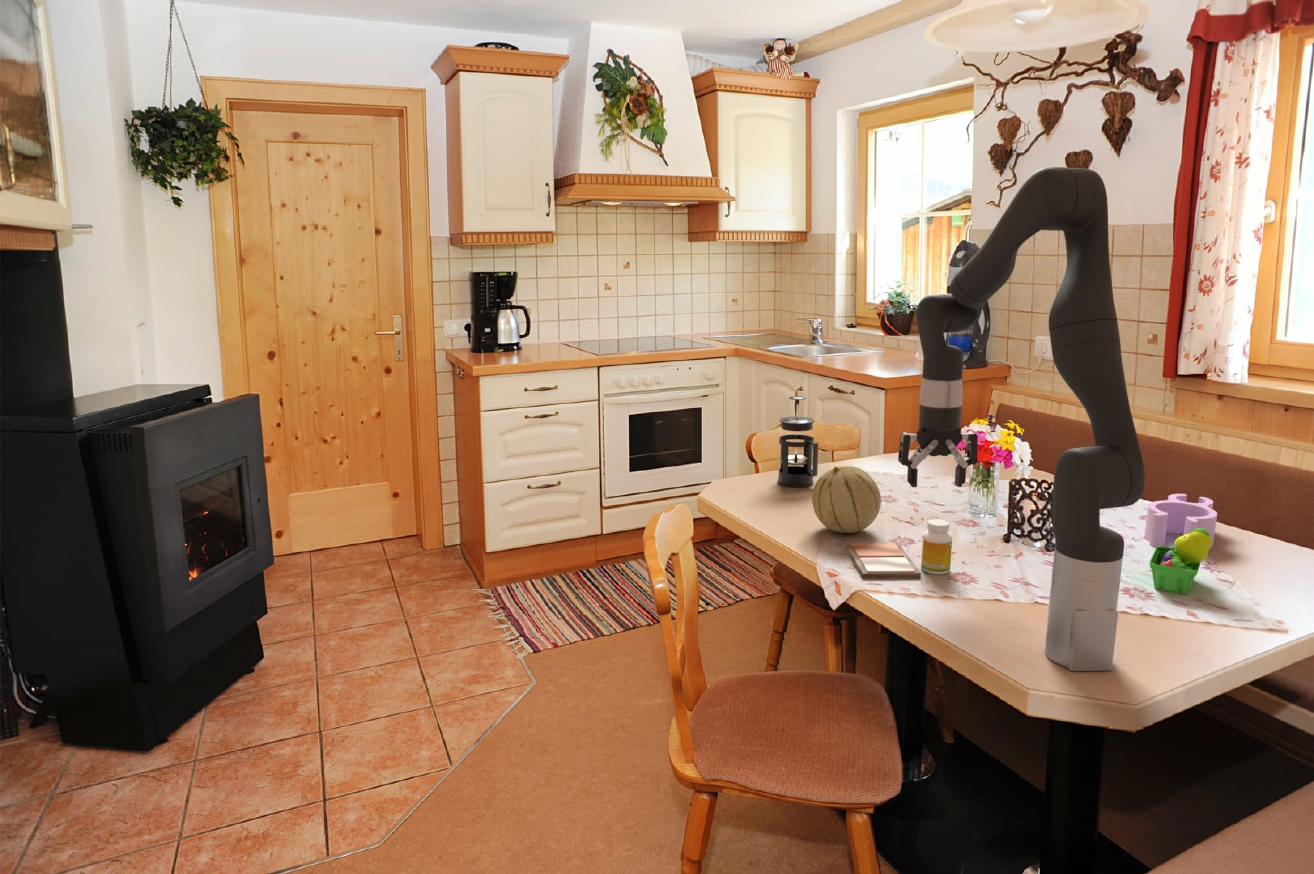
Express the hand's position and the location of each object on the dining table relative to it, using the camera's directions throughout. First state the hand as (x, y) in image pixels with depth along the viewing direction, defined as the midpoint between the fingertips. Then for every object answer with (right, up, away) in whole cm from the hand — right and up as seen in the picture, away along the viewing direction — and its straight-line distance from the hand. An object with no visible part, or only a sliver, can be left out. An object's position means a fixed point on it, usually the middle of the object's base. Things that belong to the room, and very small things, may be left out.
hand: (935, 486), depth 166 cm
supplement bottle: (+1, -17, +4) cm, 17 cm away
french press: (-16, -3, +63) cm, 65 cm away
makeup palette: (-8, -16, +8) cm, 19 cm away
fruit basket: (+43, -18, -5) cm, 47 cm away
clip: (+58, -12, +20) cm, 63 cm away
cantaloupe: (-12, -12, +26) cm, 31 cm away
